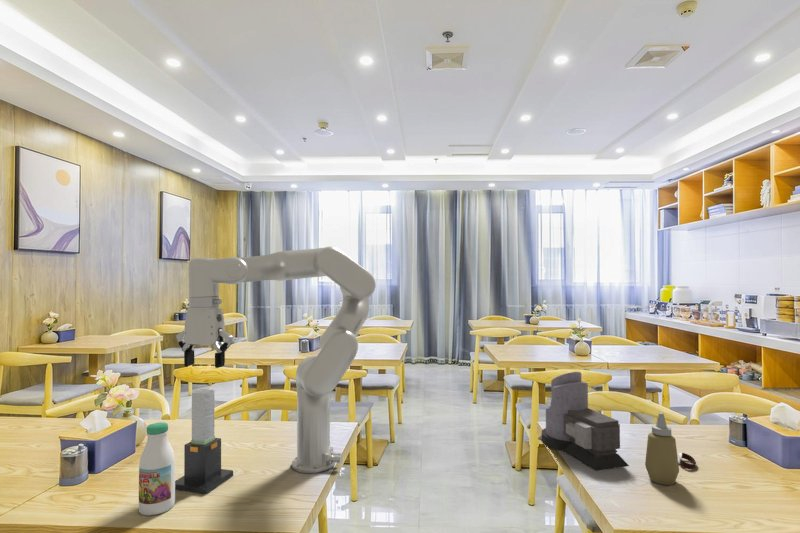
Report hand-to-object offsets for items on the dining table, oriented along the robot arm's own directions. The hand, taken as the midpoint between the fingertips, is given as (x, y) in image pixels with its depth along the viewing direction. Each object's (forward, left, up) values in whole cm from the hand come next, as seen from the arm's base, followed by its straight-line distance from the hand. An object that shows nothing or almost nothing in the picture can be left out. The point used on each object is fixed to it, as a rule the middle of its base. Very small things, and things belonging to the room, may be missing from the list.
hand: (204, 366), depth 123 cm
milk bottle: (+2, +14, -32) cm, 35 cm away
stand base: (0, 0, -31) cm, 31 cm away
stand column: (0, 0, -24) cm, 24 cm away
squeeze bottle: (-120, -32, -32) cm, 128 cm away
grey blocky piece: (-101, -49, -32) cm, 116 cm away
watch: (-130, -45, -32) cm, 141 cm away
